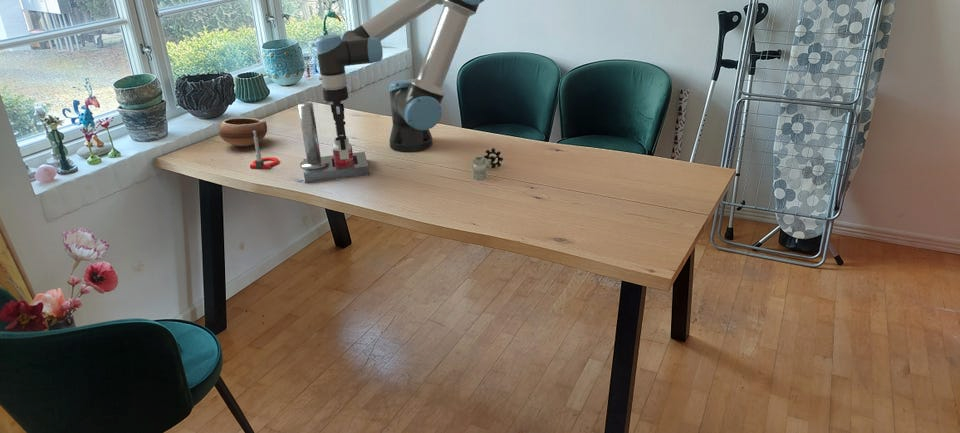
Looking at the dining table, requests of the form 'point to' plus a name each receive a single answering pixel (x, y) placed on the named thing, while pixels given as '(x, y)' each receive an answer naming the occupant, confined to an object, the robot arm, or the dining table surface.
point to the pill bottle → (337, 155)
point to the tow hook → (259, 162)
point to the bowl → (242, 131)
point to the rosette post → (324, 166)
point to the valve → (485, 164)
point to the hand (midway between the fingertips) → (343, 151)
